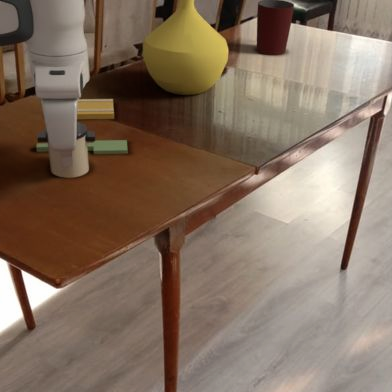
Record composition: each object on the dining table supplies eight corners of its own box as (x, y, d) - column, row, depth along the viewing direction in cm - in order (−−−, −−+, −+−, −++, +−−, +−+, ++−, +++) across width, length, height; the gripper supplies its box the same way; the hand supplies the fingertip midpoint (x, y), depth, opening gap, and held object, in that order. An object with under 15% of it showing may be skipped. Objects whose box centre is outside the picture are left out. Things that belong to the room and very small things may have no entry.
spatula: (36, 155, 110) (35, 150, 109) (37, 145, 113) (37, 140, 113) (127, 154, 112) (127, 148, 111) (126, 144, 115) (126, 138, 114)
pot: (41, 179, 103) (34, 130, 98) (43, 161, 108) (37, 114, 103) (97, 178, 104) (94, 130, 99) (97, 160, 109) (94, 113, 104)
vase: (126, 84, 139) (123, -14, 127) (189, 69, 149) (191, -23, 136) (179, 108, 129) (181, 5, 117) (243, 91, 138) (251, -7, 126)
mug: (261, 41, 168) (266, -5, 161) (293, 46, 166) (299, -1, 159) (249, 53, 159) (254, 5, 152) (283, 58, 157) (289, 10, 150)
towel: (52, 120, 122) (51, 112, 121) (54, 105, 128) (53, 98, 127) (114, 119, 124) (113, 112, 123) (113, 104, 130) (112, 97, 129)
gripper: (42, 47, 103) (52, 130, 112) (34, 91, 88) (46, 182, 97) (81, 47, 104) (88, 129, 113) (79, 90, 88) (87, 181, 97)
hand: (68, 154), depth 105 cm, fingers closed on pot, 6 cm apart
